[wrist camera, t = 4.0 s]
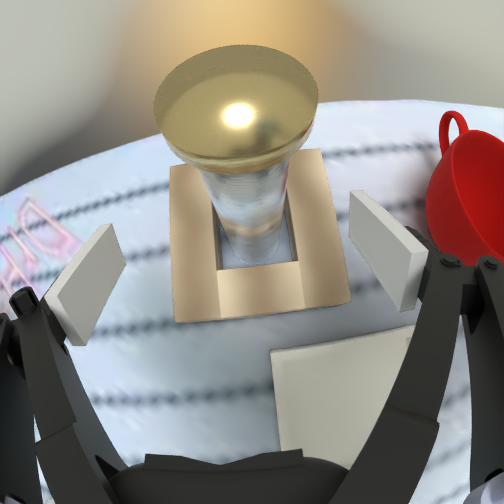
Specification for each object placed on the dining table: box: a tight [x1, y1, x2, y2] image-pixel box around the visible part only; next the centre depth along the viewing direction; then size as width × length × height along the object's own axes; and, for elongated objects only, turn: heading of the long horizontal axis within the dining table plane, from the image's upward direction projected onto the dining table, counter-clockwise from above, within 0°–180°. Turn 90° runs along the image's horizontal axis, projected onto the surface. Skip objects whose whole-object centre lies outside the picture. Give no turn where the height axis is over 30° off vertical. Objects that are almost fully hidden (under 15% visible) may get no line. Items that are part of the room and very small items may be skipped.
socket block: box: [169, 148, 351, 323], centre depth 26 cm, size 14×14×4 cm
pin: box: [154, 45, 318, 264], centre depth 19 cm, size 6×6×19 cm
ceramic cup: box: [425, 111, 504, 266], centre depth 23 cm, size 13×17×10 cm
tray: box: [270, 325, 416, 470], centre depth 22 cm, size 14×14×3 cm
